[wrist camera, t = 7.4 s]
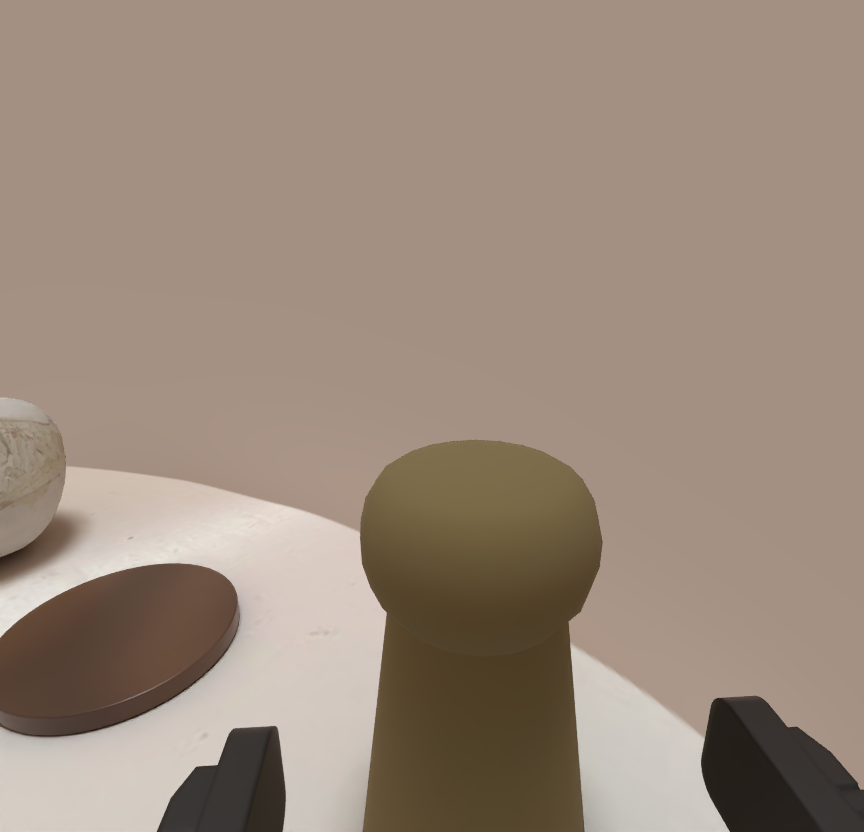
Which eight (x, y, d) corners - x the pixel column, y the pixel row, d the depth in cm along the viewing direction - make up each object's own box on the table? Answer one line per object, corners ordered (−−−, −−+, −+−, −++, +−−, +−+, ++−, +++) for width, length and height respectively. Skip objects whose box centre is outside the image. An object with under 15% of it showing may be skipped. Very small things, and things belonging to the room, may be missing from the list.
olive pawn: (638, 867, 13) (697, 472, 10) (446, 1059, 10) (444, 575, 7) (487, 706, 18) (496, 403, 15) (325, 803, 15) (291, 446, 12)
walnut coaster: (228, 559, 27) (226, 545, 27) (254, 677, 20) (251, 660, 19) (16, 610, 24) (12, 595, 23) (-54, 781, 16) (-62, 761, 16)
